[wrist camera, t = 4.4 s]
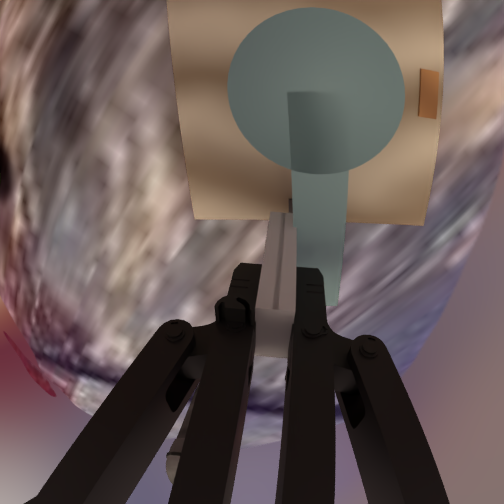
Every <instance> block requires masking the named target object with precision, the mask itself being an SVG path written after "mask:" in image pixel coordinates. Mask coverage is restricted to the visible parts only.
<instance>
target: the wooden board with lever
mask: <svg viewBox="0 0 504 504" xmlns="http://www.w3.org/2000/svg"><path fill="white" fill-rule="evenodd" d="M308 7H316V8H326V9H331V10H336V11H339V12H342V13H345V14H348V15H350V16H352V17H354V18H356V19H358V20H360V21H362V22H363V23H365V24H366V25H368V26H369V27H371V28H372V29H373V30H374V31H375V32H376V33H378V34H379V35H380V36H381V38H382V39H383V40H384V41H385V42H386V43H387V44H388V46H389V47H390V49H391V50H392V52H393V53H394V55H395V57H396V59H397V61H398V63H399V66H400V69H401V72H402V75H403V80H404V85H405V104H404V111H403V115H402V119H401V121H400V124H399V127H398V129H397V131H396V132H395V134H394V136H393V138H392V139H391V140H390V142H389V143H388V144H387V146H386V147H385V148H384V149H383V150H382V151H381V152H380V153H379V154H377V155H376V156H375V157H373V158H372V159H371V160H369V161H368V162H366V163H364V164H362V165H360V166H358V167H356V168H354V169H351V170H349V177H348V198H347V214H346V222H356V223H379V224H400V225H418V226H423V225H424V220H425V216H426V211H427V206H428V202H429V197H430V191H431V186H432V180H433V175H434V168H435V162H436V155H437V148H438V140H439V131H440V121H441V110H442V96H443V72H444V40H443V17H442V4H441V0H167V13H168V25H169V36H170V46H171V56H172V66H173V74H174V83H175V91H176V99H177V107H178V115H179V122H180V129H181V137H182V143H183V150H184V157H185V163H186V170H187V176H188V182H189V188H190V195H191V200H192V206H193V212H194V218H195V219H224V220H269V218H270V211H271V212H284V213H293V203H292V176H291V169H287V168H285V167H283V166H280V165H278V164H276V163H275V162H273V161H271V160H269V159H268V158H266V157H265V156H264V155H262V154H261V153H260V152H258V151H257V150H256V149H255V148H254V147H253V146H252V145H251V144H250V143H249V142H248V140H247V139H246V138H245V137H244V135H243V134H242V132H241V131H240V129H239V128H238V126H237V124H236V122H235V120H234V118H233V115H232V112H231V109H230V105H229V100H228V90H227V82H228V73H229V69H230V65H231V62H232V59H233V57H234V54H235V52H236V50H237V49H238V47H239V45H240V43H241V42H242V41H243V40H244V38H245V37H246V36H247V35H248V34H249V33H250V32H251V31H252V30H253V29H254V28H255V27H256V26H257V25H259V24H260V23H262V22H263V21H265V20H266V19H268V18H270V17H272V16H274V15H276V14H279V13H282V12H284V11H287V10H292V9H297V8H308Z"/></svg>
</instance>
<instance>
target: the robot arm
mask: <svg viewBox="0 0 504 504" xmlns="http://www.w3.org/2000/svg"><path fill="white" fill-rule="evenodd" d="M296 256H297V227H293V213H284V212H271V211H270V218H269V224H268V231H267V237H266V243H265V250H264V256H263V262H262V264H249V263H240V264H239V265H238V266H237V267H236V268H235V269H234V272H233V276H232V280H231V283H230V287H229V291H228V295H227V296H225V297H222V298H221V299H220V300H218V301H217V303H216V304H215V315H216V321H215V322H213V323H211V324H209V325H204V326H198V327H192V326H191V325H190V323H188V322H186V321H184V320H179V319H176V320H170V321H168V322H165V323H164V324H163V325H161V326H160V327H159V329H158V330H157V331H156V332H155V334H154V335H153V336H152V338H151V339H150V340H149V342H148V343H147V344H146V346H145V347H144V348H143V349H142V351H141V352H140V353H139V355H138V356H137V357H136V359H135V360H134V361H133V363H132V364H131V365H130V367H129V368H128V369H127V371H126V372H125V373H124V375H123V376H122V377H121V379H120V380H119V381H118V383H117V384H116V385H115V387H114V388H113V389H112V391H111V392H110V393H109V395H108V396H107V398H106V399H105V400H104V402H103V403H102V404H101V406H100V407H99V408H98V410H97V411H96V413H95V414H94V415H93V417H92V418H91V419H90V421H89V422H88V424H87V425H86V427H85V428H84V429H83V431H82V432H81V433H80V435H79V436H78V438H77V439H76V440H75V442H74V443H73V445H72V446H71V447H70V449H69V450H68V452H67V453H66V455H65V456H64V457H63V459H62V460H61V462H60V463H59V464H58V466H57V467H56V469H55V470H54V472H53V473H52V474H51V476H50V477H49V479H48V480H47V482H46V483H45V485H44V486H43V488H42V489H41V490H40V492H39V494H38V495H37V496H36V497H34V498H33V499H31V500H29V501H28V502H26V503H24V504H125V503H126V502H127V500H128V498H129V497H130V495H131V494H132V492H133V490H134V489H135V487H136V485H137V484H138V482H139V481H140V479H141V478H142V476H143V474H144V473H145V471H146V469H147V468H148V466H149V465H150V463H151V461H152V460H153V458H154V457H155V455H156V453H157V452H158V450H159V448H160V447H161V445H162V443H163V442H164V440H165V438H166V437H167V435H168V434H169V432H170V430H171V429H172V427H173V425H174V424H175V422H176V420H177V419H178V417H179V415H180V414H181V412H182V410H183V409H184V407H185V405H186V404H187V402H188V400H189V399H190V397H191V395H192V393H193V392H194V390H195V388H196V387H197V385H198V383H199V382H200V383H199V387H198V391H197V395H196V398H195V402H194V406H193V409H192V413H191V417H190V421H189V425H188V428H187V432H186V436H185V440H184V443H183V447H182V451H181V455H180V459H179V463H178V467H177V470H176V474H175V478H174V482H173V486H172V490H171V494H170V498H169V502H168V504H230V503H231V497H232V492H233V486H234V480H235V475H236V469H237V463H238V457H239V452H240V446H241V440H242V434H243V428H244V422H245V416H246V410H247V404H248V397H249V391H250V385H251V379H252V372H253V360H254V355H256V356H267V357H277V358H288V362H287V363H288V365H287V371H286V376H285V380H286V386H285V401H284V414H283V426H282V438H281V450H280V460H279V471H278V481H277V490H276V499H275V504H334V497H335V393H336V396H337V399H338V402H339V405H340V409H341V412H342V415H343V418H344V422H345V424H346V428H347V431H348V434H349V438H350V441H351V444H352V448H353V451H354V454H355V458H356V461H357V465H358V468H359V472H360V475H361V479H362V482H363V486H364V489H365V493H366V497H367V500H368V504H449V500H448V497H447V495H446V491H445V488H444V485H443V482H442V480H441V477H440V474H439V471H438V468H437V466H436V463H435V460H434V458H433V455H432V452H431V449H430V447H429V444H428V442H427V439H426V437H425V434H424V432H423V429H422V427H421V424H420V422H419V419H418V417H417V414H416V412H415V410H414V408H413V405H412V403H411V400H410V398H409V396H408V393H407V391H406V389H405V387H404V384H403V382H402V380H401V378H400V376H399V373H398V371H397V369H396V367H395V365H394V363H393V360H392V358H391V356H390V354H389V352H388V350H387V348H386V346H385V344H384V343H383V342H382V341H381V340H380V339H379V338H377V337H375V336H372V335H361V336H358V337H356V338H355V339H354V340H351V339H348V338H345V337H342V336H340V335H338V334H336V333H335V332H333V331H332V329H331V328H330V327H329V325H328V323H327V316H326V302H325V289H324V277H323V275H322V273H321V272H320V270H319V269H318V268H308V267H296ZM334 390H335V392H334Z"/></svg>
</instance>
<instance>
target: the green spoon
mask: <svg viewBox="0 0 504 504" xmlns="http://www.w3.org/2000/svg"><path fill="white" fill-rule="evenodd" d="M227 90H228V100H229V105H230V109H231V112H232V115H233V118H234V120H235V122H236V124H237V126H238V128H239V129H240V131H241V132H242V134H243V135H244V137H245V138H246V139H247V140H248V142H249V143H250V144H251V145H252V146H253V147H254V148H255V149H256V150H257V151H258V152H260V153H261V154H262V155H264V156H265V157H266V158H268V159H269V160H271V161H273V162H275V163H276V164H278V165H280V166H283V167H285V168H287V169H291V176H292V203H293V227H297V256H296V267H308V268H318V269H319V270H320V272H321V273H322V275H323V277H324V289H325V302H326V306H337V305H338V297H339V289H340V280H341V271H342V262H343V251H344V240H345V228H346V214H347V198H348V177H349V170H351V169H354V168H356V167H358V166H360V165H362V164H364V163H366V162H368V161H369V160H371V159H372V158H373V157H375V156H376V155H377V154H379V153H380V152H381V151H382V150H383V149H384V148H385V147H386V146H387V144H388V143H389V142H390V140H391V139H392V138H393V136H394V134H395V132H396V131H397V129H398V127H399V124H400V121H401V119H402V115H403V111H404V104H405V85H404V80H403V75H402V72H401V69H400V66H399V63H398V61H397V59H396V57H395V55H394V53H393V52H392V50H391V49H390V47H389V46H388V44H387V43H386V42H385V41H384V40H383V39H382V38H381V36H380V35H379V34H378V33H376V32H375V31H374V30H373V29H372V28H371V27H369V26H368V25H366V24H365V23H363V22H362V21H360V20H358V19H356V18H354V17H352V16H350V15H348V14H345V13H342V12H339V11H336V10H331V9H326V8H316V7H308V8H297V9H292V10H287V11H284V12H282V13H279V14H276V15H274V16H272V17H270V18H268V19H266V20H265V21H263V22H262V23H260V24H259V25H257V26H256V27H255V28H254V29H253V30H252V31H251V32H250V33H249V34H248V35H247V36H246V37H245V38H244V40H243V41H242V42H241V43H240V45H239V47H238V49H237V50H236V52H235V54H234V57H233V59H232V62H231V65H230V69H229V73H228V82H227Z"/></svg>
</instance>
